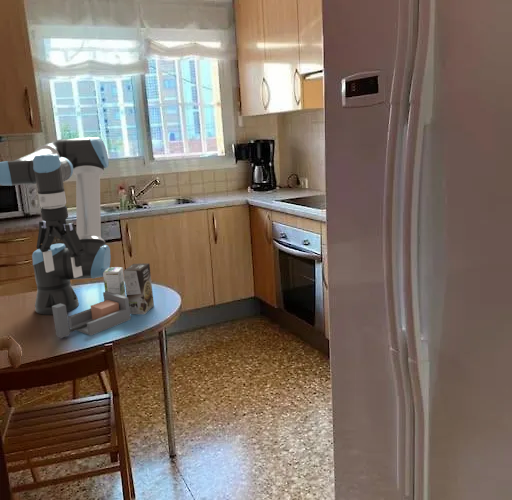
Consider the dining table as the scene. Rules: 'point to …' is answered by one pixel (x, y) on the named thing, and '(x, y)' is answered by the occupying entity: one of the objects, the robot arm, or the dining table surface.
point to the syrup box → (114, 280)
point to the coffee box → (139, 288)
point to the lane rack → (106, 320)
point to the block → (97, 312)
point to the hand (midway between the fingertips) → (63, 273)
